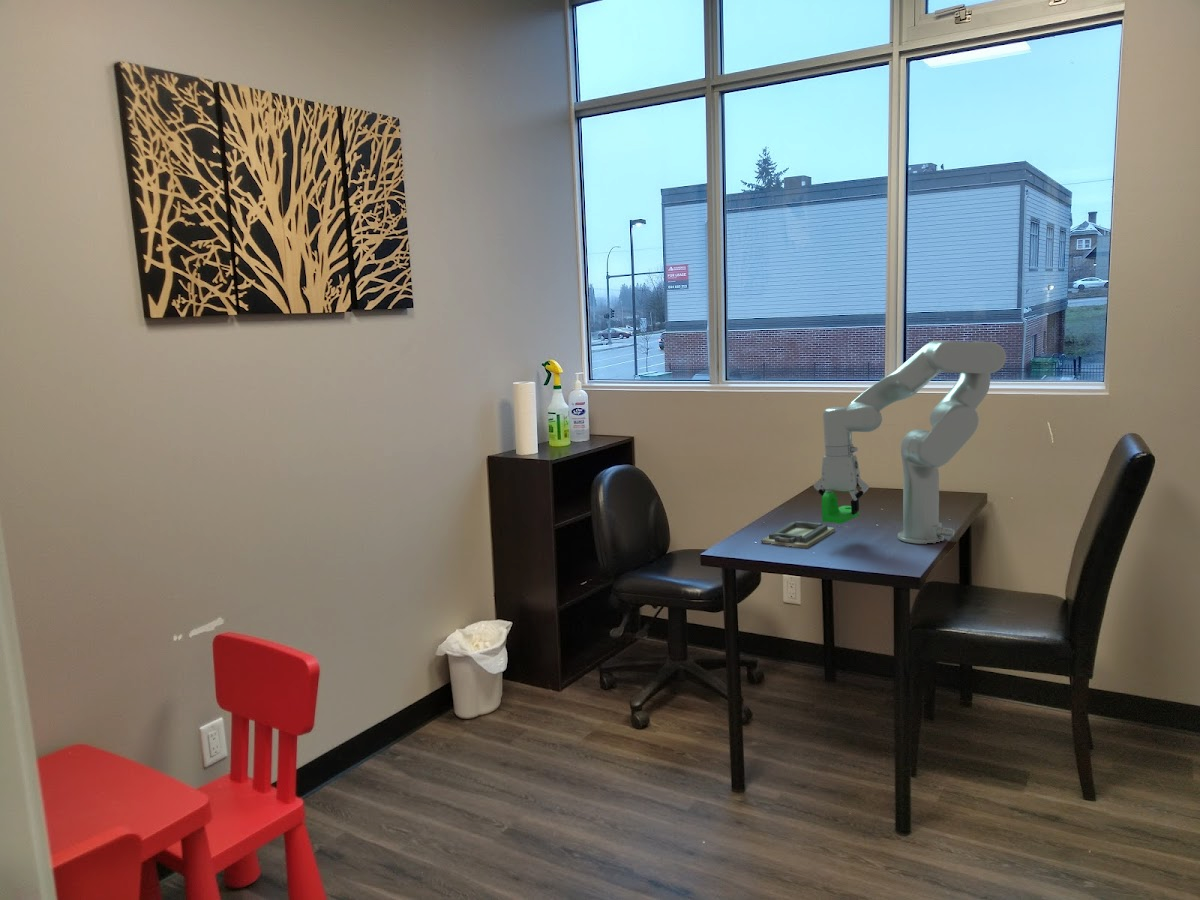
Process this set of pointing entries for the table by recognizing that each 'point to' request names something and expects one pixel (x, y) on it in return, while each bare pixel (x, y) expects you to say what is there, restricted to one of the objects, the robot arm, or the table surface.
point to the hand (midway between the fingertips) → (842, 512)
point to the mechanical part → (835, 510)
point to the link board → (799, 534)
